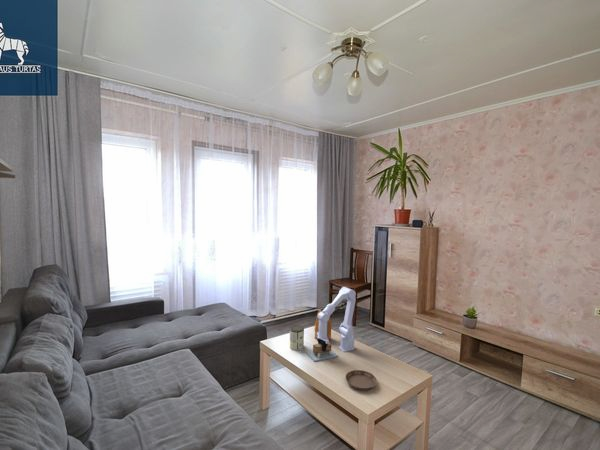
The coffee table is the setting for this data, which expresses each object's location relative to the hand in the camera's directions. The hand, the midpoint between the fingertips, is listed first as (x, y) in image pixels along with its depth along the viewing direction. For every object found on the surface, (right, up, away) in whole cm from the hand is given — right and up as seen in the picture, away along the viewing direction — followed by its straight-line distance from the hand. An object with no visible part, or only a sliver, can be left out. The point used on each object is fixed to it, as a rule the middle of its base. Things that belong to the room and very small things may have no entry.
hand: (322, 349), depth 192 cm
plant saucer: (+20, -6, -30) cm, 37 cm away
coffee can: (-18, -3, +11) cm, 21 cm away
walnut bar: (0, -2, 0) cm, 2 cm away
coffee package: (+2, -3, +25) cm, 25 cm away
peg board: (0, -4, 0) cm, 4 cm away
